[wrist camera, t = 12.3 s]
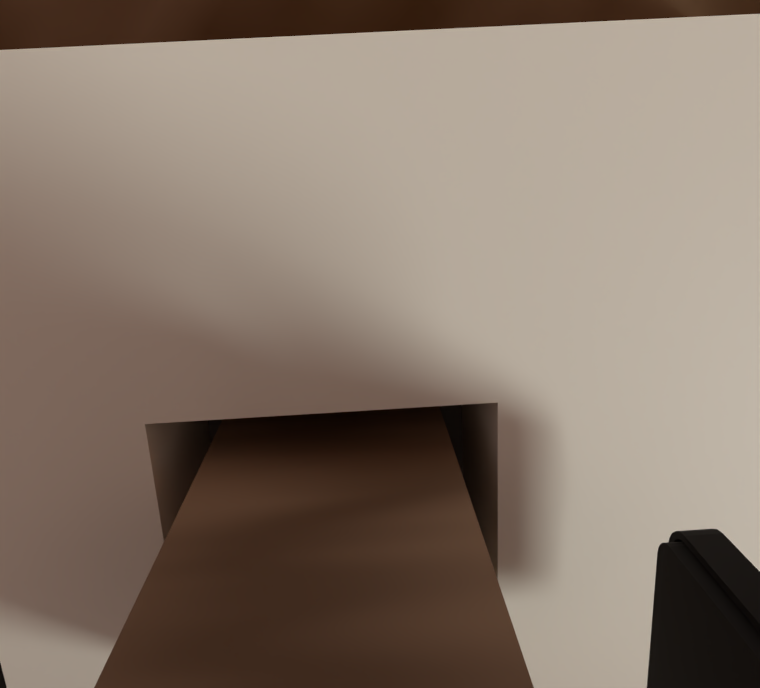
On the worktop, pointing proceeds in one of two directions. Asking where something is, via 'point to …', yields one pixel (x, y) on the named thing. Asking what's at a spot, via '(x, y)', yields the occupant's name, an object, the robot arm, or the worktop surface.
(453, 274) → the cream socket block
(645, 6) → the worktop surface
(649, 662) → the robot arm
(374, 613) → the walnut square peg
